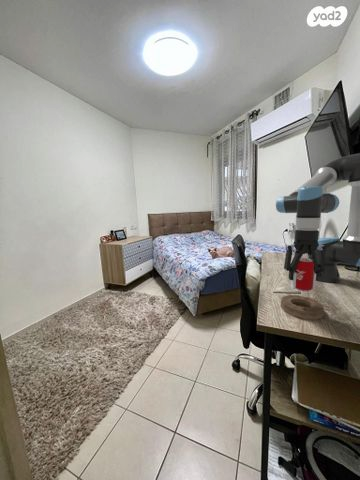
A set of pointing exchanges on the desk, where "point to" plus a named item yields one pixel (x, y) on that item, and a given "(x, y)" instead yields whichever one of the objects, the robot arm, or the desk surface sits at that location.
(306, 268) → the beverage can
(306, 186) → the robot arm
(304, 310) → the brown flat ring
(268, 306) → the desk surface
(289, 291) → the lace cord
